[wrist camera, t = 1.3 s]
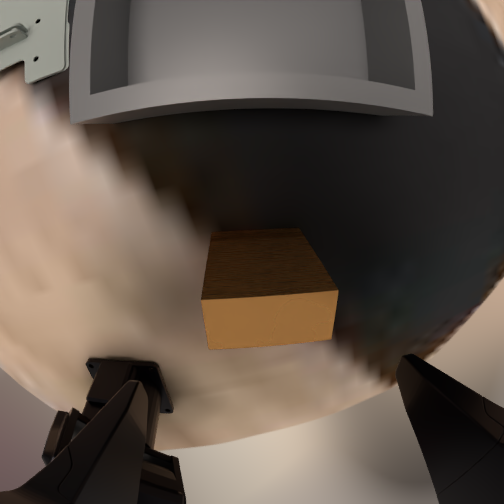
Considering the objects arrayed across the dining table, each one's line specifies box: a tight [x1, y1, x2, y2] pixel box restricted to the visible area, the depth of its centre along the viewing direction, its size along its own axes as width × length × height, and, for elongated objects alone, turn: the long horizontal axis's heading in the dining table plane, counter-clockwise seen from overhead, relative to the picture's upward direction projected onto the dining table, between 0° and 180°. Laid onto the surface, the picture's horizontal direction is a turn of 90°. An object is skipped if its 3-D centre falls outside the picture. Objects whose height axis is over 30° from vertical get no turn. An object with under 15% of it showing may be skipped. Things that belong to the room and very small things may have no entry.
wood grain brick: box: [201, 228, 339, 349], centre depth 15 cm, size 6×5×7 cm
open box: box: [69, 0, 433, 124], centre depth 9 cm, size 10×15×5 cm, turn 92°
